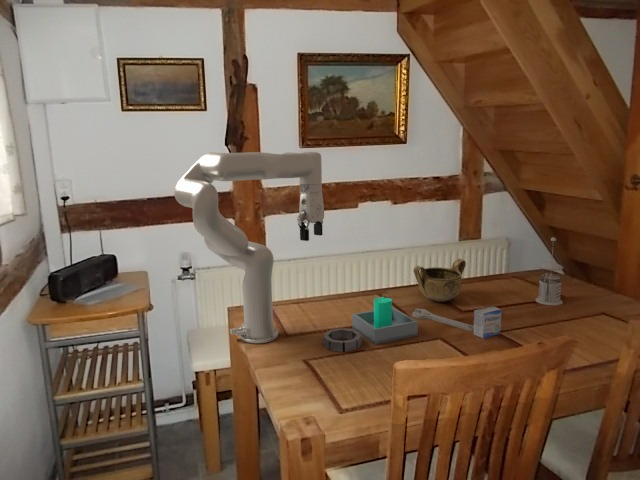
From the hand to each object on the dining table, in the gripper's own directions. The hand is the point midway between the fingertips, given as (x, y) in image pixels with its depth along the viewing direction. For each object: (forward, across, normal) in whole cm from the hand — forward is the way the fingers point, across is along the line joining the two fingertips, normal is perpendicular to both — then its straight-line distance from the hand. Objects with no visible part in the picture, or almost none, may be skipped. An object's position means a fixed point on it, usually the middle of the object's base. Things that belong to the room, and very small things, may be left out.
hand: (311, 237), depth 195 cm
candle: (+29, -1, -27) cm, 40 cm away
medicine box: (+30, +12, -59) cm, 67 cm away
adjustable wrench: (+30, +17, -42) cm, 54 cm away
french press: (+29, +54, -73) cm, 96 cm away
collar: (+30, -16, -19) cm, 39 cm away
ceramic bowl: (+30, +40, -35) cm, 61 cm away
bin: (+30, 0, -28) cm, 41 cm away
